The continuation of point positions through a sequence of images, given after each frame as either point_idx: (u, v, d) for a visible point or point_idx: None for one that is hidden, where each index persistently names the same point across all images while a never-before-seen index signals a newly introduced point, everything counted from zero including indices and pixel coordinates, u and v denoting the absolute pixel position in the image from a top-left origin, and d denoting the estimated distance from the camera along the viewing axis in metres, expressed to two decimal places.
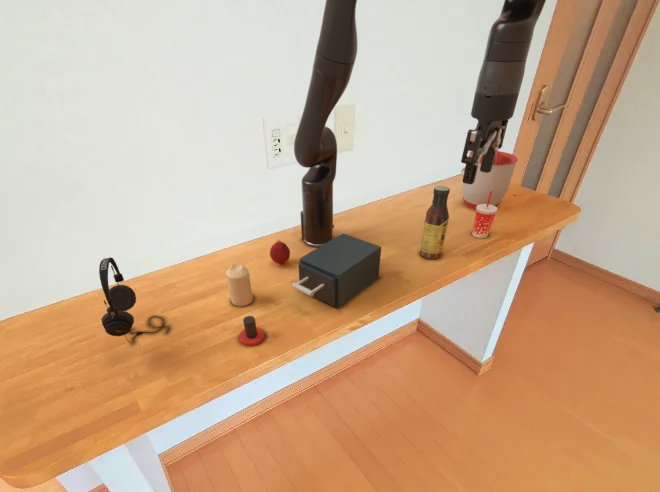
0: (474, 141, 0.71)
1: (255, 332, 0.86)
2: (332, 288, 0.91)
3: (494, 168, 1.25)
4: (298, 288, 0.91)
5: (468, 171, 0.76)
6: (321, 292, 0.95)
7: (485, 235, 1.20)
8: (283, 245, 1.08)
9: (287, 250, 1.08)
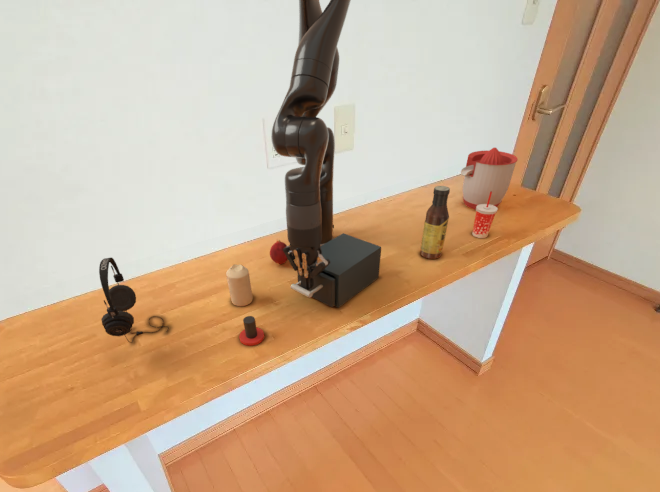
0: None
1: (255, 332, 0.86)
2: (331, 289, 0.91)
3: (494, 168, 1.25)
4: (297, 289, 0.91)
5: None
6: (320, 293, 0.94)
7: (485, 235, 1.20)
8: (283, 245, 1.08)
9: None
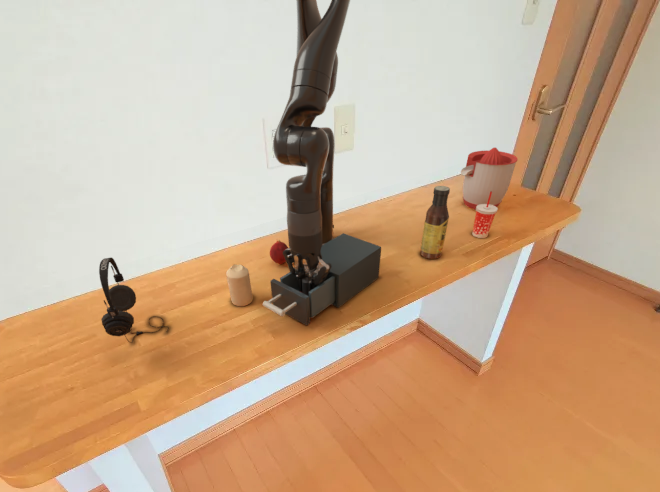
0: None
1: None
2: (305, 307, 0.85)
3: (494, 168, 1.25)
4: (269, 307, 0.86)
5: None
6: (294, 310, 0.89)
7: (485, 235, 1.20)
8: (283, 245, 1.08)
9: None
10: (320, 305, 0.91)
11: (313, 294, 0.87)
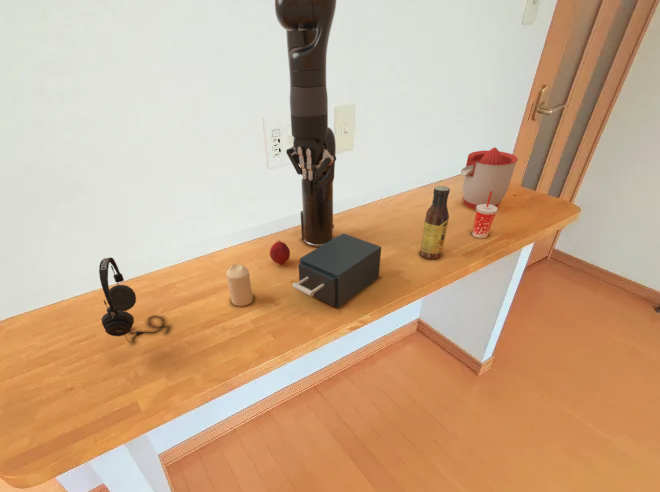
0: None
1: None
2: (332, 288, 0.91)
3: (494, 168, 1.25)
4: (298, 288, 0.91)
5: None
6: (321, 292, 0.95)
7: (485, 235, 1.20)
8: (283, 245, 1.08)
9: (287, 250, 1.08)
10: None
11: None
